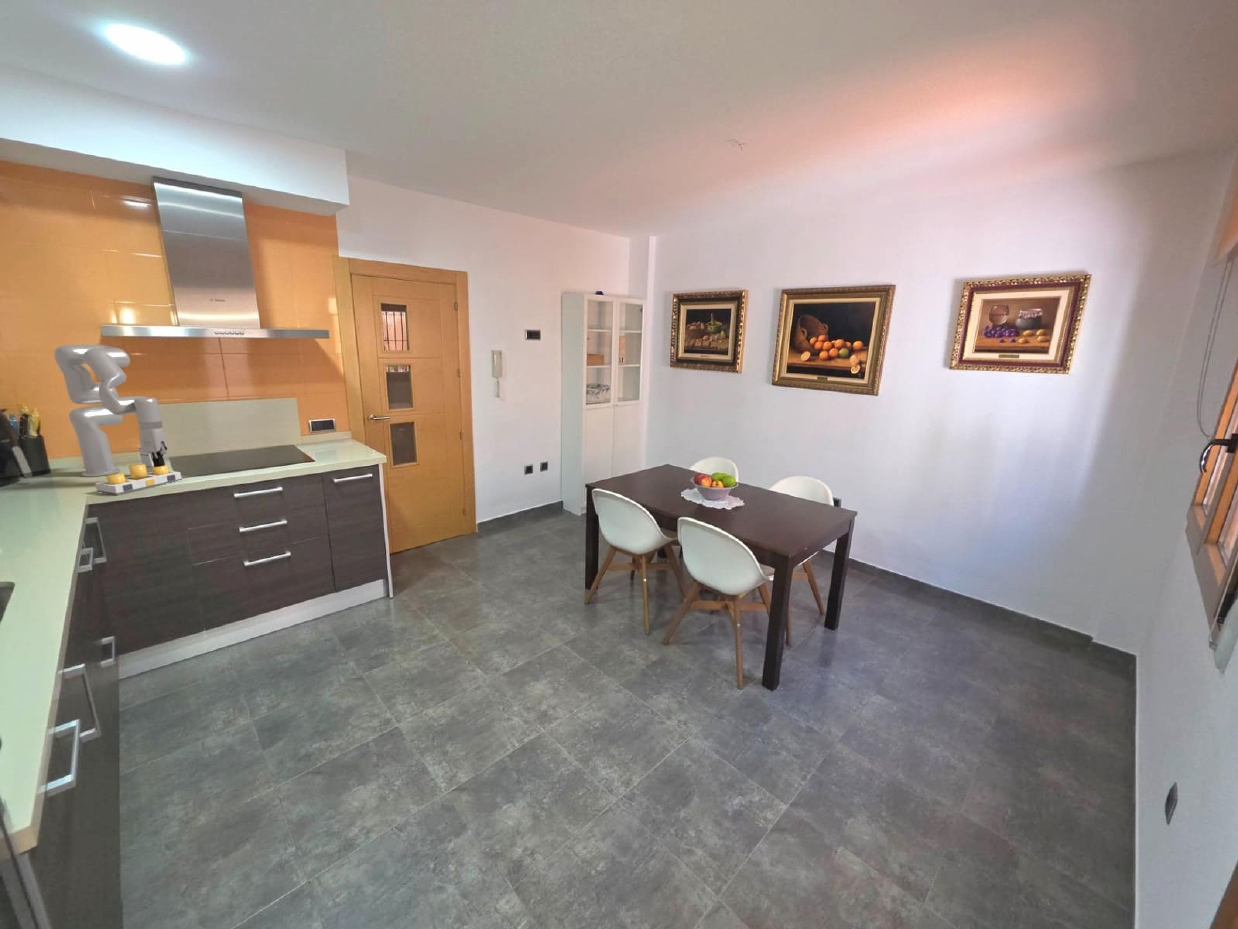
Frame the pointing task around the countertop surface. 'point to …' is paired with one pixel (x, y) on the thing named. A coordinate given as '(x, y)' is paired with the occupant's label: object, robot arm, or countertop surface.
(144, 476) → the button mid
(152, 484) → the console
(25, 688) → the countertop surface
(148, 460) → the syrup box
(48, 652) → the countertop surface
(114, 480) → the button near
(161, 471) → the button far
